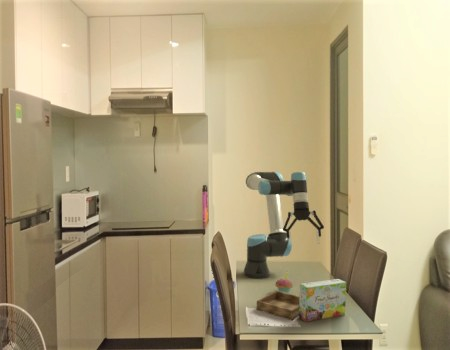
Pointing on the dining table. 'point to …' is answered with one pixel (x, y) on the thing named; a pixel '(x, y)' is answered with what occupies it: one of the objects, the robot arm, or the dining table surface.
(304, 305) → the snack box
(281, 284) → the cupcake
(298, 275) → the dining table surface
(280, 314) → the walnut tray
